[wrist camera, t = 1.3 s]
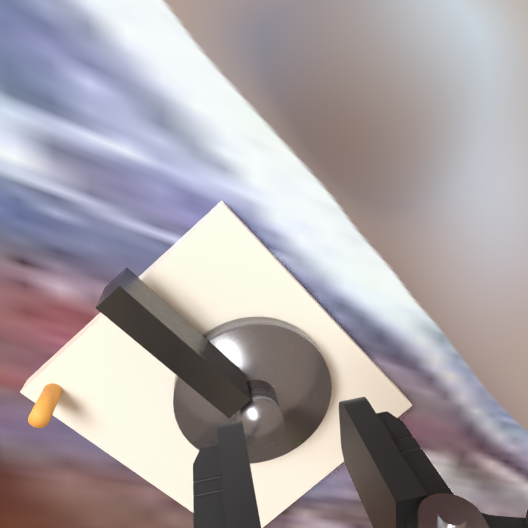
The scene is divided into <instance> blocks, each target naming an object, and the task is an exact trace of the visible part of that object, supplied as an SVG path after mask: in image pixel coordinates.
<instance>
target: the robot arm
mask: <svg viewBox="0 0 528 528" xmlns="http://www.w3.org/2000/svg"><path fill="white" fill-rule="evenodd" d="M339 421H340V438H341V449H342V454H343V458H344V461H345V464H346V467H347V470H348V472H349V474H350V476H351V478H352V481H353V483H354V485H355V487H356V490H357V492H358V494H359V496H360V498H361V501H362V503H363V505H364V507H365V510H366V512H367V514H368V516H369V519H370V521H371V523H372V525H373V527H374V528H528V511H527V513H526V518H516V517H503V516H493V515H488V514H483V513H481V512H480V511H479V510H478V509H477V508H476V507H475V506H474V505H473V504H472V503H470V502H469V501H467V500H466V499H464V498H462V497H459V496H456V495H454V494H453V493H452V492H451V490H450V489H449V488H448V486H447V485H446V483H445V482H444V480H443V479H442V478H441V476H440V475H439V473H438V472H437V470H436V469H435V468H434V466H433V465H432V463H431V462H430V460H429V459H428V458H427V456H426V455H425V453H424V452H423V450H421V449H420V446H419V445H418V443H417V442H416V440H415V439H414V438H413V437H412V435H411V433H410V432H409V430H408V429H407V427H406V426H405V425H404V423H403V422H402V421H401V420H399V419H398V418H396V417H395V416H393V415H392V414H391V413H389V412H388V411H386V412H381V413H376V412H375V411H374V409H373V408H372V406H371V404H370V403H369V401H368V400H367V398H366V397H360V398H355V399H350V400H345V401H340V402H339ZM217 434H218V445H216V446H211V447H206V448H201V449H200V450H199V453H198V455H197V457H196V459H195V461H194V463H193V496H194V498H193V510H194V528H261V524H260V518H259V512H258V507H257V501H256V495H255V490H254V484H253V479H252V473H251V467H250V462H249V456H248V450H247V445H246V439H245V434H244V428H243V422H242V421H237V422H232V423H227V424H222V425H217Z"/></svg>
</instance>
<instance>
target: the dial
mask: <svg viewBox="0 0 528 528" xmlns="http://www.w3.org/2000/svg"><path fill="white" fill-rule="evenodd" d="M96 309H97V310H99V311H100V312H101V313H102V314H103V315H105V316H106V317H107V318H108V319H109V320H111V321H112V322H113V323H114V324H115V325H117V326H118V327H119V328H120V329H122V330H123V331H124V332H125V333H126V334H128V335H129V336H130V337H131V338H132V339H134V340H135V341H136V342H137V343H138V344H140V345H141V346H142V347H143V348H144V349H146V350H147V351H148V352H149V353H150V354H152V355H153V356H154V357H155V358H157V359H158V360H159V361H160V362H161V363H163V364H164V365H165V366H166V367H167V368H169V369H170V370H171V371H172V372H173V373H175V374H176V376H175V380H174V395H173V407H174V414H175V418H176V422H177V424H178V426H179V429H180V430H181V432H182V434H183V435H184V437H185V438H186V439H187V440H188V441H189V442H190V443H191V444H192V445H193V446H194V447H195V448H196V449H198V450H200V449H201V448H206V447H211V446H216V445H218V434H217V425H222V424H227V423H232V422H237V421H242V422H243V428H244V434H245V439H246V445H247V450H248V456H249V462H250V464H252V463H260V462H264V461H269V460H272V459H275V458H278V457H280V456H283V455H285V454H287V453H289V452H291V451H292V450H294V449H296V448H297V447H298V446H300V445H301V444H303V443H304V442H305V441H306V440H307V439H308V438H309V437H310V436H311V435H312V434H313V433H314V432H315V431H316V430H317V428H318V427H319V425H320V424H321V422H322V421H323V419H324V417H325V415H326V413H327V410H328V407H329V404H330V399H331V391H332V384H331V377H330V373H329V369H328V367H327V364H326V362H325V360H324V358H323V357H322V355H321V353H320V351H319V350H318V348H317V346H316V345H315V343H314V342H313V341H312V340H311V339H310V337H309V336H307V335H306V334H305V333H304V332H303V331H302V330H300V329H298V328H297V327H295V326H294V325H291V324H289V323H287V322H285V321H281V320H278V319H274V318H268V317H245V318H240V319H235V320H232V321H229V322H226V323H223V324H221V325H219V326H217V327H215V328H213V329H211V330H210V331H208V332H206V333H205V334H204V335H202V334H201V333H200V332H198V331H197V330H196V329H195V328H194V327H193V326H192V325H191V324H189V323H188V322H187V321H186V320H185V319H184V318H183V317H182V316H181V315H179V314H178V313H177V312H176V311H175V310H174V309H173V308H172V307H171V306H169V305H168V304H167V303H166V302H165V301H164V300H163V299H162V298H160V297H159V296H158V295H157V294H156V293H155V292H154V291H153V290H152V289H150V288H149V287H148V286H147V285H146V284H145V283H144V282H143V281H141V280H140V279H139V278H138V277H137V276H136V275H135V274H134V273H133V272H131V271H130V270H129V269H128V268H126V269H125V270H123V271H122V272H121V273H120V274H119V275H118V276H117V277H116V278H115V279H114V280H113V281H112V282H111V283H109V284H108V285H107V286H106V287H105V289H104V291H103V293H102V295H101V297H100V299H99V302H98V304H97V306H96Z"/></svg>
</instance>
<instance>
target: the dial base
mask: <svg viewBox="0 0 528 528" xmlns="http://www.w3.org/2000/svg"><path fill="white" fill-rule="evenodd" d="M138 278H139V279H140V280H141V281H143V282H144V283H145V284H146V285H147V286H148V287H149V288H150V289H152V290H153V291H154V292H155V293H156V294H157V295H158V296H159V297H160V298H162V299H163V300H164V301H165V302H166V303H167V304H168V305H169V306H171V307H172V308H173V309H174V310H175V311H176V312H177V313H178V314H179V315H181V316H182V317H183V318H184V319H185V320H186V321H187V322H188V323H189V324H191V325H192V326H193V327H194V328H195V329H196V330H197V331H198V332H200V333H201V334H202V335H204V334H205V333H206V332H208V331H210V330H211V329H213V328H215V327H217V326H219V325H221V324H223V323H226V322H229V321H232V320H235V319H240V318H245V317H268V318H274V319H278V320H281V321H285V322H287V323H289V324H291V325H294V326H295V327H297V328H298V329H300V330H302V331H303V332H304V333H305V334H306V335H307V336H309V337H310V339H311V340H312V341H313V342H314V343H315V345H316V346H317V348H318V350H319V351H320V353H321V355H322V357H323V358H324V360H325V362H326V364H327V367H328V369H329V373H330V377H331V384H332V391H331V399H330V404H329V407H328V410H327V413H326V415H325V417H324V419H323V421H322V422H321V424H320V425H319V427H318V428H317V430H316V431H315V432H314V433H313V434H312V435H311V436H310V437H309V438H308V439H307V440H306V441H305V442H304V443H303V444H301V445H300V446H298V447H297V448H296V449H294V450H292V451H291V452H289V453H287V454H285V455H283V456H280V457H278V458H275V459H272V460H269V461H264V462H260V463H252V464H250V467H251V473H252V479H253V484H254V490H255V495H256V501H257V507H258V512H259V518H260V524H261V528H263V527H264V526H265V525H267V524H268V523H269V522H270V521H271V520H273V519H274V518H275V517H276V516H278V515H279V514H280V513H281V512H282V511H284V510H285V509H286V508H287V507H289V506H290V505H291V504H292V503H293V502H295V501H296V500H297V499H298V498H300V497H301V496H302V495H303V494H305V493H306V492H307V491H308V490H309V489H311V488H312V487H313V486H314V485H316V484H317V483H318V482H319V481H320V480H322V479H323V478H324V477H325V476H327V475H328V474H329V473H330V472H331V471H333V470H334V469H335V468H336V467H338V466H339V465H340V464H341V463H342V462H344V458H343V454H342V449H341V438H340V421H339V402H340V401H345V400H350V399H355V398H360V397H366V398H367V400H368V401H369V403H370V404H371V406H372V408H373V409H374V411H375V412H376V413H381V412H386V411H388V412H389V413H391V414H392V415H393V416H395V417H396V418H398V417H399V416H400V415H401V414H402V413H404V412H405V411H406V410H407V409H409V408H410V407H411V406H412V404H411V403H410V401H409V400H408V399H407V397H406V396H405V395H404V394H403V393H402V392H401V391H400V389H399V388H398V387H397V386H396V385H395V384H394V383H393V382H392V381H391V380H390V379H389V378H388V377H387V376H386V375H385V373H384V372H383V371H382V370H381V369H380V368H379V367H378V366H377V365H376V364H375V363H374V362H373V361H372V360H371V359H370V357H369V356H368V355H367V354H366V353H365V352H364V351H363V350H362V349H361V348H360V347H359V346H358V345H357V344H356V343H355V341H354V340H353V339H352V338H351V337H350V336H349V335H348V334H347V333H346V332H345V331H344V330H343V329H342V328H341V327H340V325H339V324H338V323H337V322H336V321H335V320H334V319H333V318H332V317H331V316H330V315H329V314H328V313H327V312H326V311H325V309H324V308H323V307H322V306H321V305H320V304H319V303H318V302H317V301H316V300H315V299H314V298H313V297H312V296H311V295H310V293H309V292H308V291H307V290H306V289H305V288H304V287H303V286H302V285H301V284H300V283H299V282H298V281H297V280H296V279H295V277H294V276H293V275H292V274H291V273H290V272H289V271H288V270H287V269H286V268H285V267H284V266H283V265H282V264H281V263H280V261H279V260H278V259H277V258H276V257H275V256H274V255H273V254H272V253H271V252H270V251H269V250H268V249H267V248H266V247H265V245H264V244H263V243H262V242H261V241H260V240H259V239H258V238H257V237H256V236H255V235H254V234H253V233H252V232H251V231H250V229H249V228H248V227H247V226H246V225H245V224H244V223H243V222H242V221H241V220H240V219H239V218H238V217H237V216H236V215H235V213H234V212H233V211H232V210H231V209H230V208H229V207H228V206H227V205H226V204H225V203H224V202H223V201H221V202H219V203H218V204H217V205H216V206H215V207H214V208H213V209H212V210H211V211H210V212H209V213H208V214H206V215H205V216H204V217H203V218H202V219H201V220H200V221H199V222H198V223H197V224H196V225H195V226H193V227H192V228H191V229H190V230H189V231H188V232H187V233H186V234H185V235H184V236H183V237H182V238H180V239H179V240H178V241H177V242H176V243H175V244H174V245H173V246H172V247H171V248H170V249H169V250H167V251H166V252H165V253H164V254H163V255H162V256H161V257H160V258H159V259H158V260H157V261H156V262H154V263H153V264H152V265H151V266H150V267H149V268H148V269H147V270H146V271H145V272H144V273H143V274H141V275H140V276H139V277H138ZM175 376H176V374H175V373H173V372H172V371H171V370H170V369H169V368H167V367H166V366H165V365H164V364H163V363H161V362H160V361H159V360H158V359H157V358H155V357H154V356H153V355H152V354H150V353H149V352H148V351H147V350H146V349H144V348H143V347H142V346H141V345H140V344H138V343H137V342H136V341H135V340H134V339H132V338H131V337H130V336H129V335H128V334H126V333H125V332H124V331H123V330H122V329H120V328H119V327H118V326H117V325H115V324H114V323H113V322H112V321H111V320H109V319H108V318H107V317H106V316H105V315H103V314H102V313H101V312H100V313H99V314H98V315H97V316H96V317H95V318H94V319H93V320H92V321H91V322H89V323H88V324H87V325H86V326H85V327H84V328H83V329H82V330H81V331H80V332H79V333H78V334H76V335H75V336H74V337H73V338H72V339H71V340H70V341H69V342H68V343H67V344H66V345H64V346H63V347H62V348H61V349H60V350H59V351H58V352H57V353H56V354H55V355H54V356H53V357H51V358H50V359H49V360H48V361H47V362H46V363H45V364H44V365H43V366H42V367H41V368H40V369H38V370H37V371H36V372H35V373H34V374H33V375H32V376H31V377H30V378H29V379H28V380H27V381H26V383H25V385H24V386H23V388H22V390H21V391H20V393H22V394H23V395H25V396H26V397H27V398H29V399H30V400H32V401H33V402H35V403H36V404H35V406H34V408H33V410H32V411H31V413H30V415H29V418H28V421H29V423H30V425H32V426H33V427H36V428H42V427H45V426H46V425H47V424H48V423H49V421H50V419H51V416H52V415H53V416H55V417H56V418H58V419H59V420H61V421H62V422H63V423H65V424H66V425H68V426H69V427H71V428H72V429H74V430H75V431H76V432H78V433H79V434H81V435H82V436H84V437H85V438H86V439H88V440H89V441H91V442H92V443H94V444H95V445H97V446H98V447H99V448H101V449H102V450H104V451H105V452H107V453H108V454H109V455H111V456H112V457H114V458H115V459H117V460H118V461H120V462H121V463H122V464H124V465H125V466H127V467H128V468H130V469H131V470H133V471H134V472H135V473H137V474H138V475H140V476H141V477H143V478H144V479H145V480H147V481H148V482H150V483H151V484H153V485H154V486H156V487H157V488H158V489H160V490H161V491H163V492H164V493H166V494H167V495H169V496H170V497H171V498H173V499H174V500H176V501H177V502H179V503H180V504H181V505H183V506H184V507H186V508H187V509H189V510H190V511H192V512H193V513H194V510H193V498H194V496H193V463H194V461H195V459H196V457H197V455H198V453H199V450H198V449H196V448H195V447H194V446H193V445H192V444H191V443H190V442H189V441H188V440H187V439H186V438H185V437H184V435H183V434H182V432H181V430H180V429H179V426H178V424H177V422H176V418H175V414H174V407H173V395H174V380H175Z"/></svg>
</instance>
